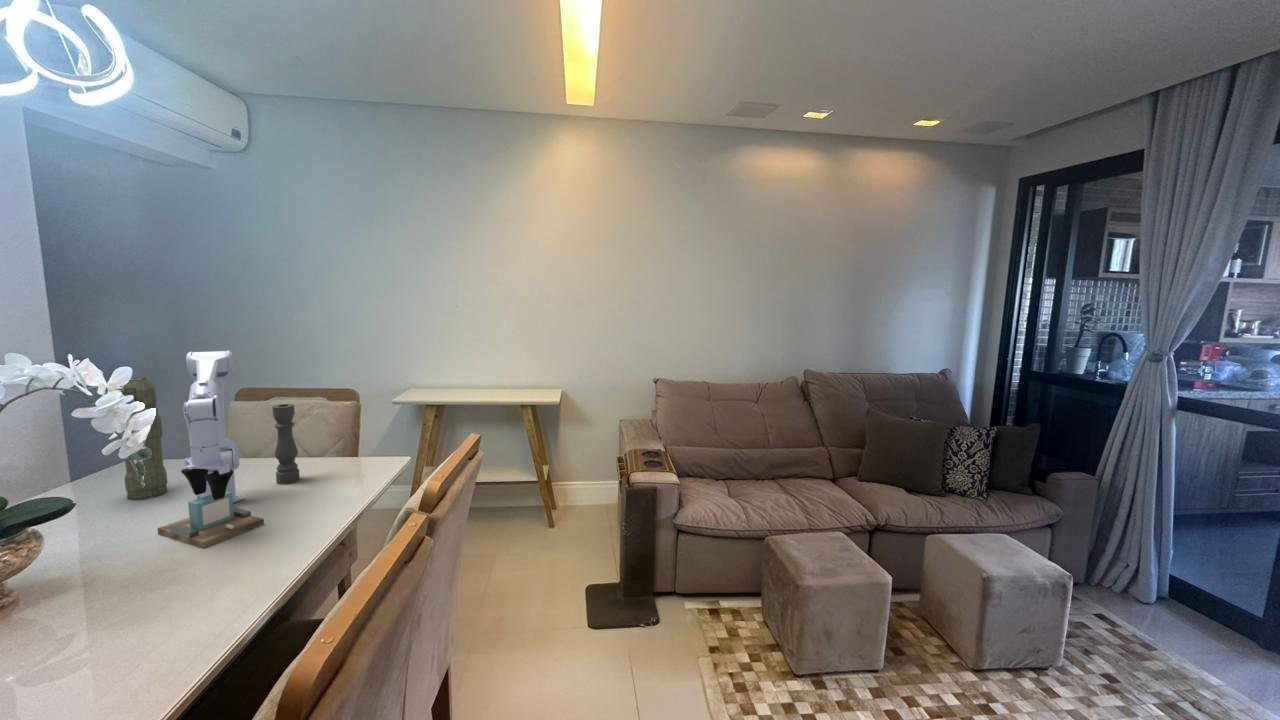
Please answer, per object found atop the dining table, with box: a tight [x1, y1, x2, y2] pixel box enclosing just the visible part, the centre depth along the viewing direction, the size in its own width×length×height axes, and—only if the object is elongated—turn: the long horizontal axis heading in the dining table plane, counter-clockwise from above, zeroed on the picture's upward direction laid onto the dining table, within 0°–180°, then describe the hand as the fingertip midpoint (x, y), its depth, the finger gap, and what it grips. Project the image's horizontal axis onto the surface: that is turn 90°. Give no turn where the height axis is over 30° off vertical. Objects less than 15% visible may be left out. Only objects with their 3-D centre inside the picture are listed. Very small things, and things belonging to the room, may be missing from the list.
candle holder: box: [272, 403, 301, 485], centre depth 162 cm, size 6×6×25 cm
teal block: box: [187, 491, 234, 531], centre depth 130 cm, size 4×8×7 cm, turn 159°
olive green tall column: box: [121, 377, 169, 501], centre depth 148 cm, size 9×12×35 cm
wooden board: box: [157, 505, 265, 549], centre depth 131 cm, size 18×14×3 cm
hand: (209, 496), depth 130 cm, fingers open, 7 cm apart
